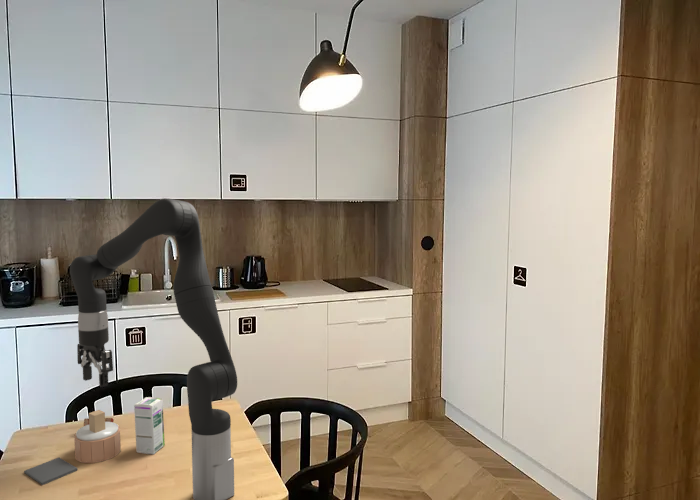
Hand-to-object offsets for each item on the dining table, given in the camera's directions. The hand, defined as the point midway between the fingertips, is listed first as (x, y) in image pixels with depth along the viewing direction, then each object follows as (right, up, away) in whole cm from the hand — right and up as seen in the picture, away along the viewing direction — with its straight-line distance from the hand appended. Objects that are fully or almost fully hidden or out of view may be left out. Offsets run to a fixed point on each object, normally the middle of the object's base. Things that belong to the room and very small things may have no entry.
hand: (95, 382), depth 149 cm
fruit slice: (-6, -19, +15) cm, 25 cm away
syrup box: (+14, -21, +4) cm, 25 cm away
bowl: (0, -20, +2) cm, 21 cm away
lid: (0, -14, +1) cm, 14 cm away
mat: (-8, -21, -8) cm, 24 cm away
